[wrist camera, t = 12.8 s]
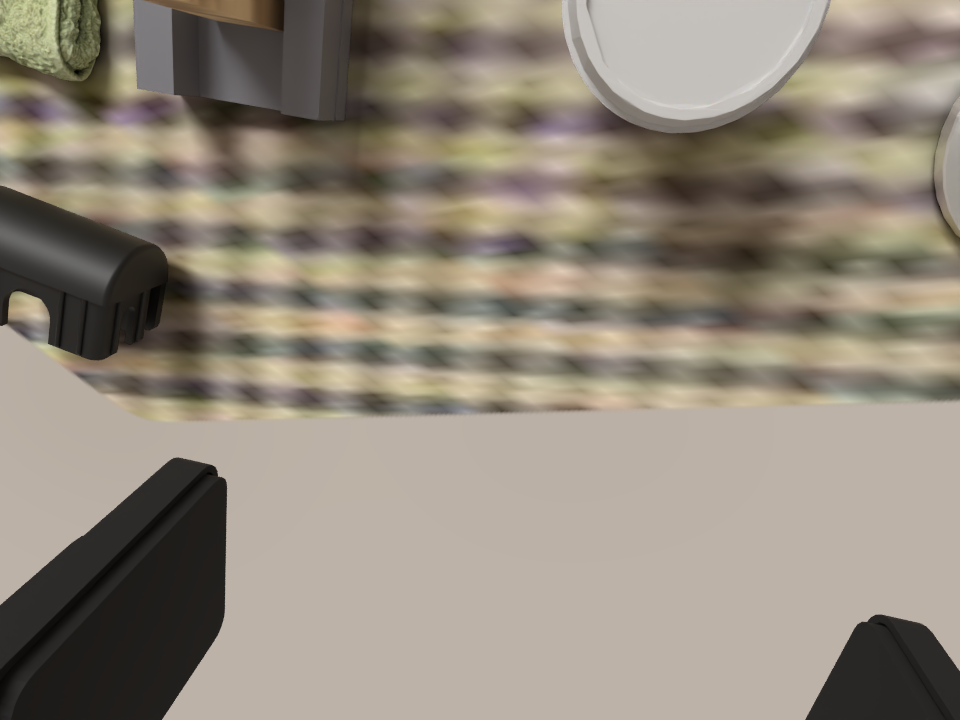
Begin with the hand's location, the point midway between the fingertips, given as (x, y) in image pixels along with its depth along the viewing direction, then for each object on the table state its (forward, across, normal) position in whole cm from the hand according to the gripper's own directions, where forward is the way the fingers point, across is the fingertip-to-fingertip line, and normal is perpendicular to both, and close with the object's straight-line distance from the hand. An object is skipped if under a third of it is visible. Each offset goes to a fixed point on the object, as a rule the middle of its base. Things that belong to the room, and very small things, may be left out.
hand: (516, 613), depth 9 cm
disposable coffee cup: (+30, -3, -12) cm, 33 cm away
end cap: (+30, +29, +7) cm, 42 cm away
